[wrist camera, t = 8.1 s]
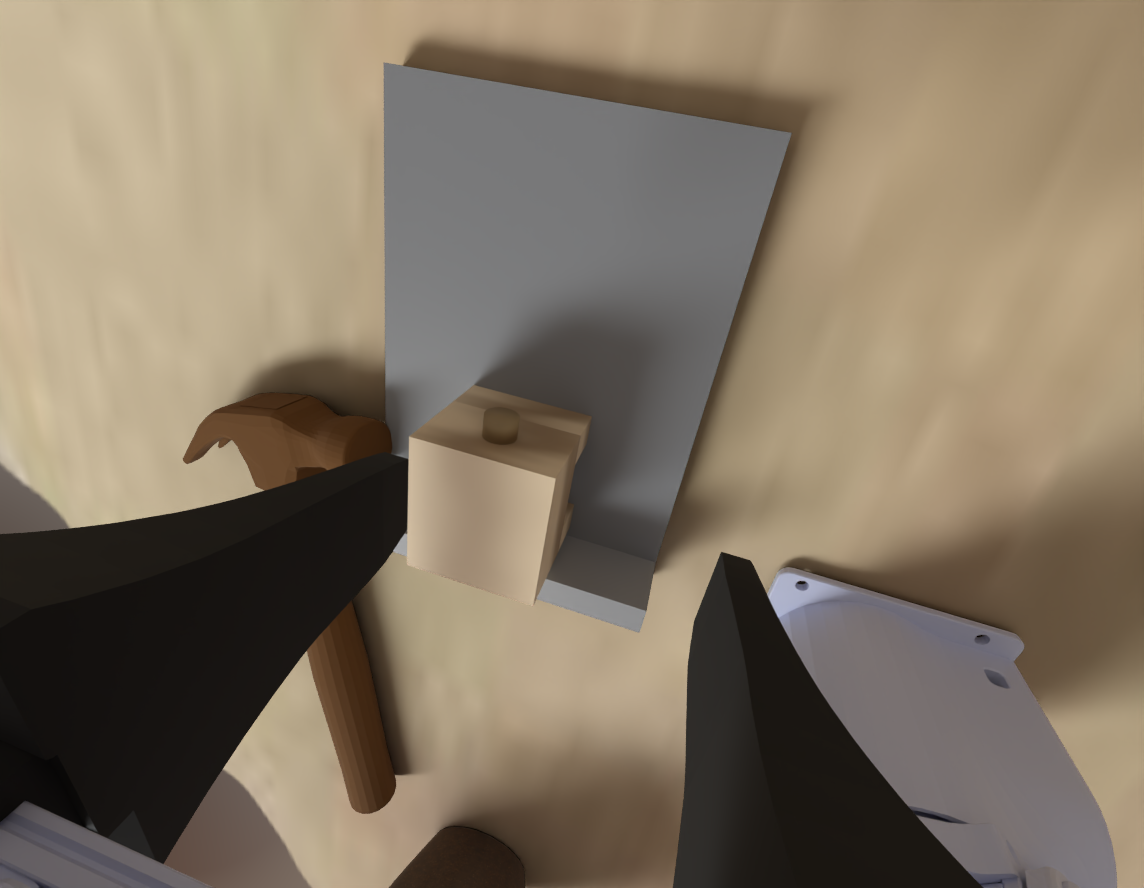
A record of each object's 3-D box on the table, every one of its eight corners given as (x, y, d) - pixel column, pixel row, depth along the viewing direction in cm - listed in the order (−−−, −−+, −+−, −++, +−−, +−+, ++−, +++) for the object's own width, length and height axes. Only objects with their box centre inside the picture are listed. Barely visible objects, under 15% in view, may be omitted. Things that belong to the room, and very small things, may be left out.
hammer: (438, 798, 37) (391, 410, 23) (409, 844, 35) (335, 439, 21) (315, 729, 41) (211, 362, 27) (280, 765, 39) (145, 381, 25)
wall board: (788, 135, 16) (804, 122, 13) (649, 577, 25) (636, 642, 21) (400, 68, 18) (321, 40, 14) (397, 499, 27) (347, 546, 23)
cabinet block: (595, 397, 20) (559, 456, 16) (569, 527, 23) (532, 606, 19) (475, 366, 21) (409, 414, 17) (464, 495, 24) (406, 564, 20)
